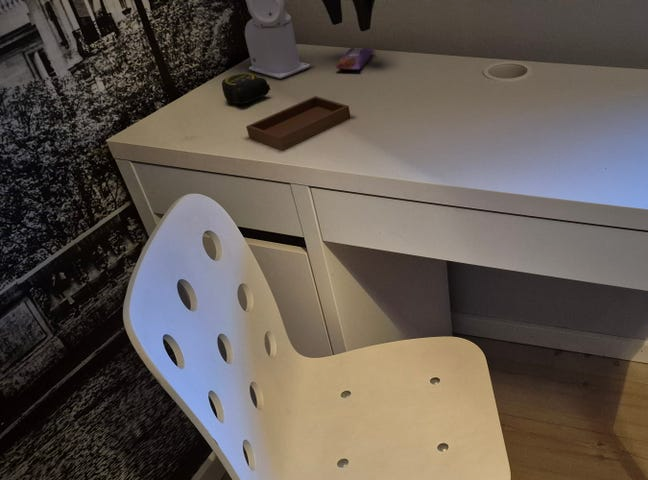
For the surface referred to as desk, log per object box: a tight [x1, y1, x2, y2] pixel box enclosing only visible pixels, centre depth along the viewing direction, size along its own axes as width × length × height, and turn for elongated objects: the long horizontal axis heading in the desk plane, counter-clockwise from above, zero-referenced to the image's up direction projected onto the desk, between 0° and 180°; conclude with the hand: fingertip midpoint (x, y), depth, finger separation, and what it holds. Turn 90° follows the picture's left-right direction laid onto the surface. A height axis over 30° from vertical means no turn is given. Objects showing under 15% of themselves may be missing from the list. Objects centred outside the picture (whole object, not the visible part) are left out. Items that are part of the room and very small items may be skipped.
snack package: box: [334, 47, 376, 71], centre depth 133 cm, size 12×2×5 cm
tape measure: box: [221, 73, 271, 104], centre depth 120 cm, size 7×7×4 cm
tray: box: [245, 95, 351, 151], centre depth 111 cm, size 15×8×2 cm, turn 144°
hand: (351, 26), depth 129 cm, fingers open, 7 cm apart
